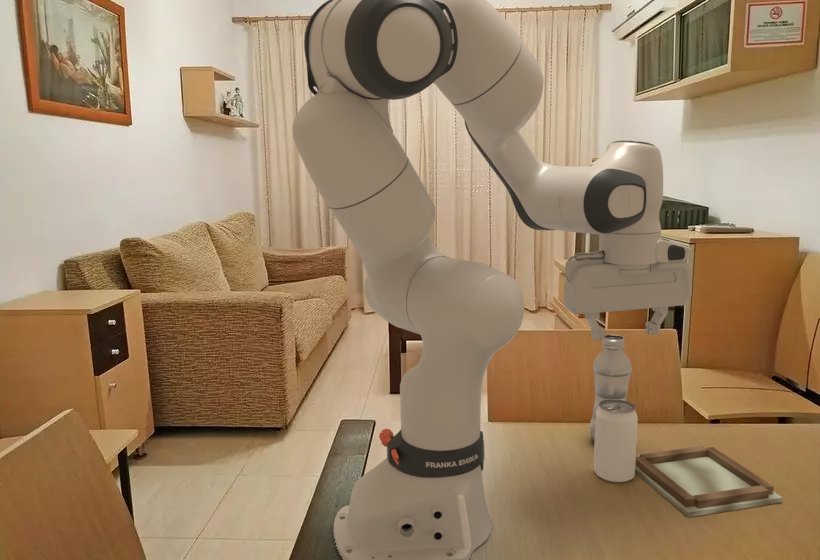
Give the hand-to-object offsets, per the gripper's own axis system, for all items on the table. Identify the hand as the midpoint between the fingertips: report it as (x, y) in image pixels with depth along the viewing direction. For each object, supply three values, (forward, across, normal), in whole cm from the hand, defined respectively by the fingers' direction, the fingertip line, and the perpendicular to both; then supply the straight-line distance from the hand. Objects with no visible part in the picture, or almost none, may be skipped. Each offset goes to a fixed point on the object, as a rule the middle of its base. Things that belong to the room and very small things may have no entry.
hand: (625, 336), depth 98 cm
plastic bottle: (+24, +4, +11) cm, 27 cm away
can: (+24, -1, 0) cm, 24 cm away
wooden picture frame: (+24, +11, -6) cm, 27 cm away
